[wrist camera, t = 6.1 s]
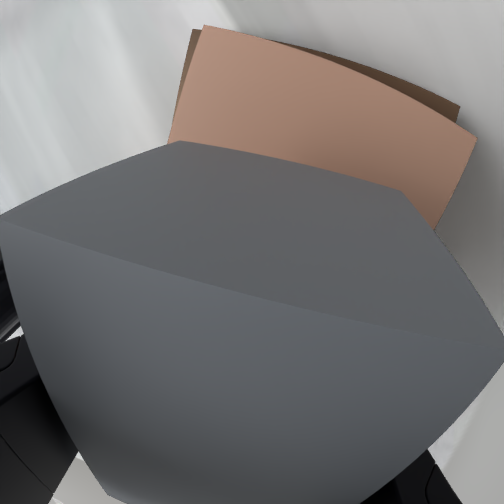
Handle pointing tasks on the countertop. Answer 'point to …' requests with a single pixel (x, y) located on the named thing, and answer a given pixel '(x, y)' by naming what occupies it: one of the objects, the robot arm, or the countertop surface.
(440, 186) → the top slab
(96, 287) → the charcoal block
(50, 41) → the countertop surface
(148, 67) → the countertop surface
